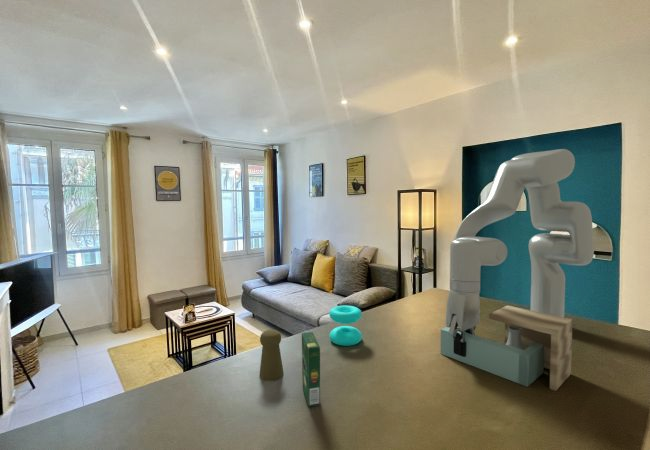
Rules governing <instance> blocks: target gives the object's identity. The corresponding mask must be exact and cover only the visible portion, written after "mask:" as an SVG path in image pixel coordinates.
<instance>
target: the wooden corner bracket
mask: <svg viewBox="0 0 650 450" xmlns="http://www.w3.org/2000/svg"><path fill="white" fill-rule="evenodd" d="M488 319H489V320H493V321H497V322H500V323H504V344H506V343H507V341H508V337H509V330H508V326H518V327H520V328H522V332H521V343H522V346H523V349H524V350H525V349H526V348H528V347H529V346H531V345H532V344H533V343H538V344H542V345H544V363H543V369H544V368H545V369H547V370H549V389H550V390H552V391H555V392H556V391H558V390H559V388H560V387H561V386H562V385H563V383H564V382H565V381H566V380H567V379H569V377H570V375H571V374H572V351H573V350H572V349H573V318H568V317H565V316H564V317H559V316H555V315H550V314H545V313H541V312H536V311H532V310H530V309H526V308H522V307H517V306H513V305H508V304H507V305H505V306H503V307H501V308H498V309H497V310H494V311H493V312H490V313H488Z"/></svg>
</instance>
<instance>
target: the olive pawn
mask: <svg viewBox="0 0 650 450" xmlns="http://www.w3.org/2000/svg"><path fill="white" fill-rule="evenodd" d="M281 341H282V335H281V332H280V331H278V330H277V329H268V330H264V331H263V332H261V333H260V337H259V342H260V345H262V346H261V347H262V348H261V358H260V366H259V375H258V376H259V379H261V380H262V381H265V382H275V381H277V380H279V379H282V378H283V376H284V368H283V367H284V366H283V361H282V355H281V348H280V347H281V346H280V343H281Z"/></svg>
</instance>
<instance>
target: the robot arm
mask: <svg viewBox="0 0 650 450" xmlns="http://www.w3.org/2000/svg"><path fill="white" fill-rule="evenodd" d="M575 165H576V160H575V156H574V154H573V153H572V152H571V151H570V150H568V149H566V148H560V149H559V148H558V149H552V150H545V151H544V150H543V151H536V152H535V151H533V152H528V153H522V154H519V155H515V156H514V157H512V158H511V159H510V160H509V159H508V160H506V161H504V162H503V163H501V164H500V165H499V167H498V168H497V170H496V172H495V176H494V179H493V180H492V183H491V186H490V188H489V190H488V192H487V195H486V197H485V201H483V203H482V204H480V205H479V206H477V207H476V208H475V209H473V210H471V212H470V213H468V215H467V216H466V217H464V219H463V220H462V221H461V222H460V223H459V226H458V227H457V229H456V233H455V236H454V238H453V240H452V241H451V242H450V247H449V292H448V294H447V295H448V296H447V302H446V311H445V327H448V328H449V327H450V329H449V334H450V335H452V336H453V339H454V353H455V354H457V355H460V356H462V357H465V356H466V342H465V332H466V333H470V334H473V335H476V334H475V330H476V327H477V326H478V324H479V323H480V318H481V305H480V303H481V302H480V293H481V267H482V266H489V267H490V266H491V267H495V266H499V265H501V264H502V263H503V262H504V261H506V258H508V257H507V256H508V248H507V245H506V244H505V243H504V241H502V240H500V239H498V238H494V237H485V236H484V237H483V236H476V235H477V233H478V232H480V230H482V229H483V228H484V227H486V226H488V225H491V224H494V223H496V222H498V221H500V220H504V219H506V218H509V217H512V215H514V214H515V213H516V212H517V210H518V207H519V204H520V201H521V199H522V196H523V194H524V190H525V189H526V191H527V194H528V201H529V212H530V220H531V224H532V227H533V228H535V229H536V230H539V231H546V232H548V233H538V234H535V235H533V236H532V237H531V238H530V239H529V241H528V253H529V258H530V268H531V270H530V272H531V275H530V278H531V279H530V308H529V310H532V311H536V312H541V313H545V314H550V315H555V316H559V317H564V318H565V302H566V301H565V300H566V299H565V298H566V295H565V294H566V275H565V271H564V270H563V269H562V267H561V265H562V264H563V265H568V266H587V265H589V264H591V263H592V261H593V259H594V254H595V245H594V230H593V217H592V212H591V209H590V207H589V206H588V205H587V204H585V203H584V202H581V201H562V200H561V191H560V186H559V183H558V182H560V181H562V180H565V179H566V178H568V177H569V176H570V175H571V174H572V173H573V172H574V169H575ZM549 232H559V233H549ZM560 232H561V233H560ZM562 232H563V233H564V232H565V233H568V234H562ZM560 264H561V265H560ZM457 331H459V332H461V335H460V333H457Z"/></svg>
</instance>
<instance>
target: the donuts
mask: <svg viewBox="0 0 650 450" xmlns="http://www.w3.org/2000/svg"><path fill="white" fill-rule="evenodd" d="M362 316H363V315H362V310H361V309H360V308H358V307H356V306H354V305H347V304H345V305H338V306H334V307H332V308H331V309H330V310H329V317H330V319H331V320H332V321H333V322H335V323H338V324H343V325H340V326H337V327H335V328H333V329H332V330H331V331H330V333H329V339H330V341H331V342H332V343H333V344H335V345H338V346H342V347H343V346H344V347H345V346H346V347H350V346H354V345H357V344H359V342H361V341H362V338H363V334H362V332H361V331H360V330H359V329H358V328H356V327H354V326H351V325H350V324H353V323H357V322H358V321H359V320H361V318H362ZM344 324H345V325H344ZM347 324H348V325H347Z"/></svg>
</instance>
